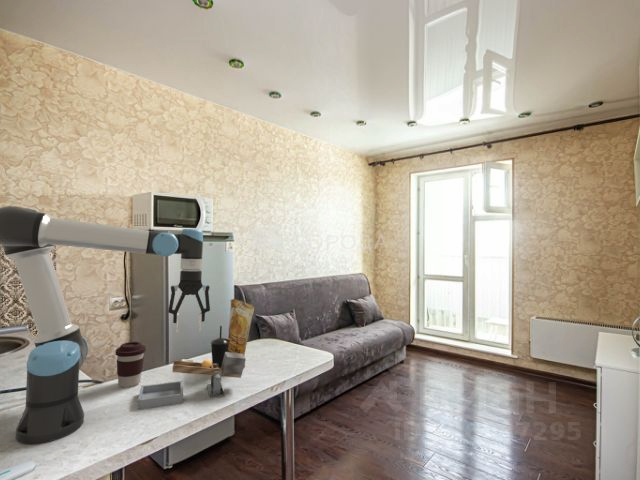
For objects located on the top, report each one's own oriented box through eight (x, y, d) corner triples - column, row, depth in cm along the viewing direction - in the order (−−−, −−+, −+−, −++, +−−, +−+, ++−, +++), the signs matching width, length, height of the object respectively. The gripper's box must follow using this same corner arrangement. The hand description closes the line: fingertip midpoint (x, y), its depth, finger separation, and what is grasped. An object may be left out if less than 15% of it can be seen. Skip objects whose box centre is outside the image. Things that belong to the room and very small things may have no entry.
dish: (137, 409, 107) (137, 400, 107) (140, 393, 117) (141, 385, 117) (182, 402, 112) (183, 394, 112) (182, 388, 123) (182, 380, 123)
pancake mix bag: (234, 355, 159) (237, 297, 159) (253, 368, 144) (256, 304, 145) (221, 358, 155) (223, 298, 155) (239, 371, 140) (242, 305, 140)
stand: (209, 397, 116) (210, 373, 116) (207, 385, 126) (207, 363, 126) (224, 395, 118) (225, 371, 118) (220, 383, 128) (221, 361, 128)
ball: (200, 369, 118) (204, 360, 118) (200, 366, 121) (203, 357, 122) (210, 371, 119) (213, 362, 120) (209, 368, 122) (212, 359, 123)
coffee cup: (116, 392, 118) (118, 350, 118) (112, 382, 125) (113, 342, 125) (146, 385, 124) (148, 345, 124) (141, 376, 132) (142, 338, 132)
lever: (172, 372, 113) (178, 351, 114) (172, 361, 124) (177, 342, 124) (240, 378, 123) (245, 358, 123) (235, 367, 133) (240, 349, 134)
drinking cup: (222, 378, 132) (225, 329, 132) (205, 376, 134) (207, 327, 134) (231, 371, 140) (233, 324, 140) (215, 369, 141) (217, 322, 141)
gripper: (161, 270, 117) (158, 335, 117) (220, 270, 125) (217, 331, 125) (162, 269, 124) (159, 330, 123) (217, 269, 132) (215, 326, 131)
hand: (188, 330), depth 124 cm, fingers open, 7 cm apart
